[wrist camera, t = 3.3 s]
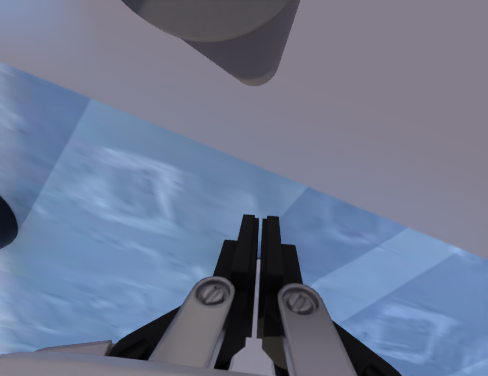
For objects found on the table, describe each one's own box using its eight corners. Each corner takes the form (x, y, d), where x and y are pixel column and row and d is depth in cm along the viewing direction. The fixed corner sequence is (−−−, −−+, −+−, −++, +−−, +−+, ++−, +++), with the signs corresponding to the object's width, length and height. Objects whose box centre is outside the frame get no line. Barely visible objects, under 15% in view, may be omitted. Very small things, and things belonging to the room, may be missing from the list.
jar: (197, 301, 27) (122, 520, 13) (228, 233, 23) (169, 441, 9) (279, 333, 27) (292, 575, 13) (323, 272, 23) (404, 523, 10)
